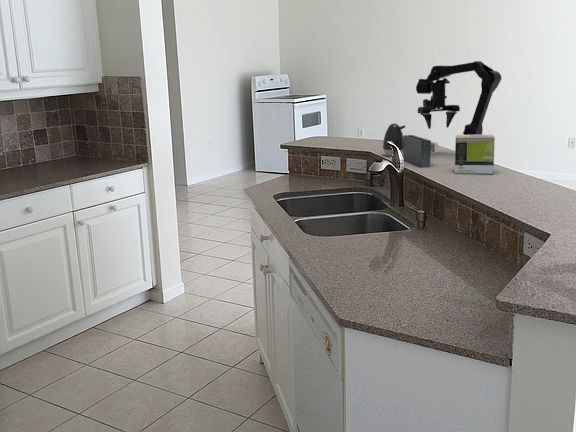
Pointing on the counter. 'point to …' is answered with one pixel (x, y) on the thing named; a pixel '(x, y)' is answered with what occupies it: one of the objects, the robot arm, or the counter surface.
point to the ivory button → (434, 146)
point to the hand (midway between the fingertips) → (438, 128)
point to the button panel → (417, 150)
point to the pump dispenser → (393, 138)
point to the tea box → (474, 154)
